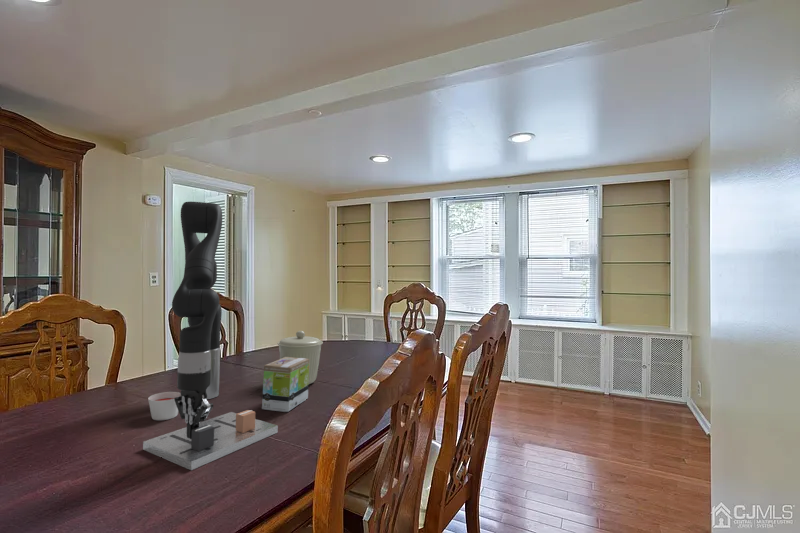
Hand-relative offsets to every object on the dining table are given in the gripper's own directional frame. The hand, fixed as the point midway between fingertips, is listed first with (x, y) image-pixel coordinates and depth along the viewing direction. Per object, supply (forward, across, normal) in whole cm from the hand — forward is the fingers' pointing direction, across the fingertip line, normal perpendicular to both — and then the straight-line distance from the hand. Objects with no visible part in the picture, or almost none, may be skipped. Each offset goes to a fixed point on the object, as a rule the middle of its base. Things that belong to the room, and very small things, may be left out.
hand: (192, 437), depth 103 cm
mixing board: (+4, -2, +7) cm, 8 cm away
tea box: (+4, -8, +39) cm, 40 cm away
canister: (+4, -22, +61) cm, 65 cm away
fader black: (+2, +4, 0) cm, 4 cm away
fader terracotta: (+2, +4, +13) cm, 14 cm away
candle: (+4, -30, +10) cm, 31 cm away
